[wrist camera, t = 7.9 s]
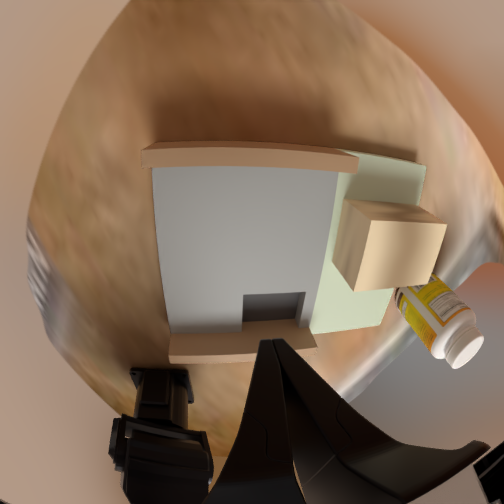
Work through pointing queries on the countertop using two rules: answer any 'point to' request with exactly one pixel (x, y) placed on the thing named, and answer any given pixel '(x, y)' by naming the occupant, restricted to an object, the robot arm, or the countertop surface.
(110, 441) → the robot arm
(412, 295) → the supplement bottle
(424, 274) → the block
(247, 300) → the board
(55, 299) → the countertop surface
